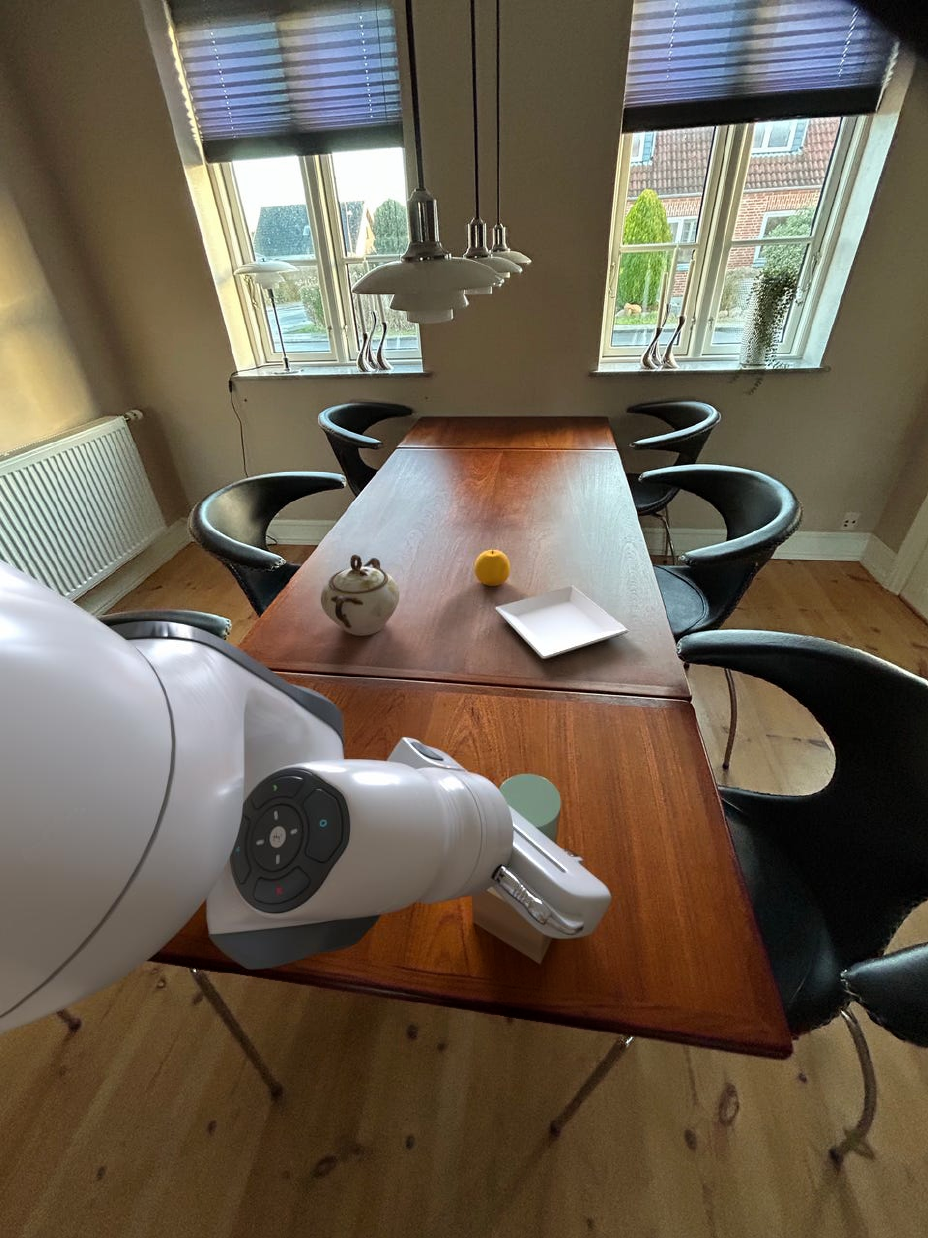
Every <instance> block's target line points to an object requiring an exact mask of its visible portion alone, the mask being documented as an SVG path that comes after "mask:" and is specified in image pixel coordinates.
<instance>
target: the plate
mask: <svg viewBox="0 0 928 1238" xmlns="http://www.w3.org/2000/svg"><path fill="white" fill-rule="evenodd" d="M494 609H495V610H496V611H497V612H498V614H499V615H500V616H501V617H502V618H503V619H504V620H505V621H506V622H507V623H508V624H509V625H510V626H511V627H512V628H513V629H514V631H516V633H517V634H518V635H519V636H520V637H521V638H522V639H523V640H524V641H525V642H526V643H527V644H528V645H529V647H531V649H533V651H534V652H535V653H536V654H537V655H538V656H539V657H540V658H541V659H542V660H548V659H550V658H553V657H557V656H560V655H563V654H565V653H569V652H572V651H575V650H579V649H581V648H585V647H588V646H590V645H591V646H592V645H595V644H597V643H600V642H603V641H606V640H609V639H612V638H616V637H619V636H622V635H626V634H628V633H629V632H630V630H629V629H628V628H627V627H625V626H624V625H623V624H622V623H621V622H619V621H618V620H617V619H616V618H614V617H613V616H612V615H611V614H610V613H608V612H607V611H605V610H604V609H603V608H602V607H600V606H599V605H598V604H597V603H595V602H594V601H593V600H592V599H590V598H589V597H588V596H587V595H585V594H584V593H583V592H581V591H580V589H578V588H576V587H575V586H574V585H571V586H567V587H564V588H560V589H556V590H552V591H549V592H546V593H542V594H538V595H534V596H530V597H527V598H523V599H521V600H516V601H513V602H510V603H505V604H502V605H499V606H495V607H494Z"/></svg>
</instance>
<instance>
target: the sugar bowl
mask: <svg viewBox="0 0 928 1238" xmlns="http://www.w3.org/2000/svg"><path fill="white" fill-rule="evenodd" d="M349 562H350V567H348V568H345V569H343V570H340V571H338V572H336V573H335V574H333V575H332V576H331V577H330V578H329V580H328V581H327V582H326V583H325V585H324V586H323V588H322V591H321V594H320V603H321V605H320V606H321V607H322V609H323V612H324V613H325V615H327V617H328V618H329V619H330V620H331V621H333V622H334V623H335V624H336V625H338V626H339V627H341V628H342V629H343V630H344V631H345V632H346V633H347V634H350V635H354V636H360V637H361V636H370V635H374V634H375V633H378V632H380V631H381V630H382V629H383V628H384V626H385V625H386V624H387V622H388V621H389V620H390V619H391V617H392V616H393V615H394V612H395V611H396V609H397V607H398V605H399V602H400V588H399V585H398V584H397V582H396V581H395V579H394V578H393V577H392V576H391V575H390V574H388V573H386V572H385V571H384V570H383V569H382V568H381V562H380V560H379V558H376V557H372V558H370V559H369V561H367V562H366V563H365V564H363V562H362V558H361V557H360V556H359V555H358V554H353V555H351V557H350V560H349Z"/></svg>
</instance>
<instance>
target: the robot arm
mask: <svg viewBox="0 0 928 1238" xmlns="http://www.w3.org/2000/svg"><path fill="white" fill-rule="evenodd" d="M344 720H345V719H344V714H343V712H342V710H340V708H339V707H338V706H337V705H336V704H335V703H333V702H332V700H330V699H328V697H326V696H324V695H322V694H321V693H320V692H318V691H316V690H314V689H311V688H308V687H305V686H301V685H297V684H292V683H290V682H289V681H287V680H285V679H284V678H282V677H281V676H280V675H278V674H276V673H275V672H274V671H273V670H271V669H270V668H268V667H267V666H265V665H264V664H262V663H261V662H259V661H258V660H256V658H255V659H254V658H253V657H252V656H250V655H249V654H247V653H246V652H244V651H243V650H241V649H240V648H239V647H237V646H235V645H233V644H232V643H230V642H228V641H226V640H225V639H223V638H222V637H219V636H217V635H215V634H213V633H211V632H209V631H206V630H203V629H201V628H198V627H194V626H191V625H188V624H183V623H177V622H172V621H171V622H170V621H157V620H156V621H155V620H153V621H152V620H151V621H133V622H127V623H126V622H125V623H120V624H115V625H110V626H108V625H106V624H105V623H104V622H102V621H100V620H99V619H98V618H96V617H95V616H93V615H92V614H90V613H89V612H88V611H87V610H85V609H84V608H82V607H81V606H79V605H78V604H76V603H74V602H73V601H71V600H70V599H68V598H66V597H65V596H64V595H61V594H60V593H58V592H57V591H55V590H54V589H52V588H50V587H49V586H47V585H45V583H43V582H41V581H39V580H37V579H36V578H34V577H33V576H31V575H29V574H27V573H26V572H24V571H22V570H20V569H18V568H17V567H16V566H14V565H12V564H10V563H8V562H6V561H4V560H2V559H1V558H0V1035H2V1034H4V1033H7V1032H10V1031H12V1030H15V1029H16V1030H17V1029H18V1028H21V1027H24V1026H26V1025H29V1024H31V1023H34V1022H36V1021H39V1020H41V1019H45V1018H46V1017H49V1016H51V1015H54V1014H56V1013H59V1012H61V1011H63V1010H65V1009H67V1008H70V1007H72V1006H74V1005H77V1004H78V1003H80V1002H82V1001H85V1000H87V999H89V998H90V997H93V996H95V995H96V994H98V993H100V992H103V991H104V990H106V989H107V988H109V987H111V986H112V985H114V984H116V983H118V982H119V981H121V980H122V979H124V978H125V977H127V976H128V975H130V974H131V973H132V972H134V971H135V970H136V969H138V968H140V967H141V966H142V965H144V964H145V963H146V962H147V961H148V960H149V959H151V958H152V957H153V956H154V955H156V954H157V953H158V952H159V951H160V950H162V949H163V948H164V947H165V946H166V945H167V944H168V943H169V942H170V941H171V940H172V939H173V938H174V937H175V936H176V935H177V934H178V933H179V932H180V931H181V930H182V929H183V928H184V927H185V926H186V925H187V923H188V922H189V921H190V920H191V918H193V916H194V915H195V914H196V913H197V911H199V909H200V907H201V906H202V905H203V904H204V902H205V901H206V903H205V905H206V906H205V909H206V910H205V911H206V912H205V913H206V914H205V916H206V923H207V930H208V934H207V936H208V938H209V939H210V940H211V942H212V943H213V945H214V946H215V947H216V948H217V949H219V950H220V951H221V952H222V953H223V954H224V955H225V956H227V957H228V958H229V959H231V960H233V961H234V962H235V963H236V964H238V965H239V966H242V967H243V968H244V969H247V970H265V969H271V968H276V967H279V966H280V967H281V966H285V965H287V964H291V963H295V962H298V961H301V960H303V959H306V958H309V957H311V956H314V955H318V954H321V953H322V954H323V953H332V952H336V951H341V950H344V949H347V948H350V947H353V946H355V945H357V944H359V942H360V941H361V940H362V939H363V938H364V937H365V936H366V935H367V933H368V932H369V931H370V930H371V929H372V928H373V927H374V926H375V925H376V923H377V922H378V921H379V919H380V918H381V915H385V914H390V913H395V912H396V913H397V912H399V911H402V910H404V909H406V908H409V907H410V906H412V905H414V904H415V903H419V904H420V903H421V904H424V905H425V904H427V905H428V904H429V905H430V904H431V905H433V904H439V903H443V902H444V903H445V902H449V901H453V900H457V899H462V898H468V897H472V895H477V894H480V893H482V892H484V891H486V890H487V889H489V888H490V887H491V886H492V887H493V888H494V889H495V890H496V891H497V892H498V893H499V894H500V895H501V896H502V897H503V898H504V899H505V900H506V901H507V902H508V903H509V904H510V905H511V906H512V907H513V908H514V909H515V910H516V911H517V912H518V913H519V914H520V915H521V916H522V917H523V918H524V919H525V920H526V921H527V922H528V923H530V924H531V925H532V926H533V927H534V928H536V929H537V930H538V931H540V932H541V933H543V934H545V935H547V936H549V937H552V939H560V940H567V939H578V938H582V937H586V936H589V935H591V934H593V932H594V931H595V930H596V929H597V928H598V926H599V924H600V922H601V921H602V919H603V917H604V916H605V914H606V912H607V910H608V908H609V906H610V904H611V902H612V894H611V893H610V892H611V891H610V890H609V888H608V887H607V885H606V884H605V883H604V882H602V881H601V880H600V879H598V878H597V877H596V876H595V875H594V874H592V873H591V872H590V871H589V870H588V869H586V867H584V866H583V865H584V862H585V860H584V859H583V858H582V857H581V856H579V855H578V854H577V853H575V851H573V850H572V849H564V851H563V850H562V849H563V848H562V847H560V846H559V845H558V844H557V845H556V844H555V843H554V842H553V841H551V840H550V839H549V838H548V837H547V836H545V835H544V834H543V833H542V832H541V831H539V830H538V829H537V828H536V827H534V826H533V825H532V824H531V823H530V822H528V821H527V820H526V819H525V818H524V817H522V816H521V815H520V814H519V813H518V812H516V811H515V810H514V809H513V808H512V807H510V806H509V805H508V804H507V802H506V800H505V798H504V797H503V795H502V794H501V792H500V791H499V790H498V789H499V788H498V787H497V786H496V785H495V784H494V783H493V782H492V781H491V780H489V779H488V778H486V777H484V776H482V775H480V774H479V773H475V772H469V771H468V770H467V769H466V768H464V766H462V765H461V764H460V763H458V761H456V760H455V759H454V758H453V757H452V756H451V755H450V754H448V753H446V752H444V751H442V750H440V749H438V748H436V747H432V746H429V745H426V744H423V743H422V742H421V741H419V740H417V739H416V738H411V737H408V736H407V737H406V736H403V737H401V738H400V740H399V741H398V743H397V744H396V745H395V747H394V748H393V750H392V751H391V753H390V754H389V756H388V758H387V759H386V760H377V759H358V758H357V759H355V758H345V721H344ZM561 848H562V849H561Z"/></svg>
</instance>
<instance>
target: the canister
mask: <svg viewBox="0 0 928 1238" xmlns="http://www.w3.org/2000/svg"><path fill="white" fill-rule="evenodd" d="M498 790H499V791H500V792H501V794H502V795H503V797H504V798H505V800H506V802H507V804H508V805H509V806H510V807H512V808H513V809H514V810H515V811H516V812H518V813H519V814H520V815H521V816H522V817H524V818H525V819H526V820H527V821H528V822H530V823H531V824H532V825H533V826H534V827H536V828H537V829H538V830H539V831H541V832H542V833H543V834H544V835H545V836H547V837H548V838H549V839H550V840H551V841H553V842H554V843H555V844H556V845H557V846H558V837H559V827H560V818H561V809H562V799H561V795H560V792H559V791H558V790H559V789H557V787H556V786H555V785H554V784H553V783H552V782H551V781H549V780H548V779H547V778H545V777H543V776H540V775H537V774H534V773H520V774H515V775H513V776H510V777H508V778H507V779H506V780H504V781H503V782H502V783H501V785H500V786H499V788H498Z"/></svg>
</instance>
